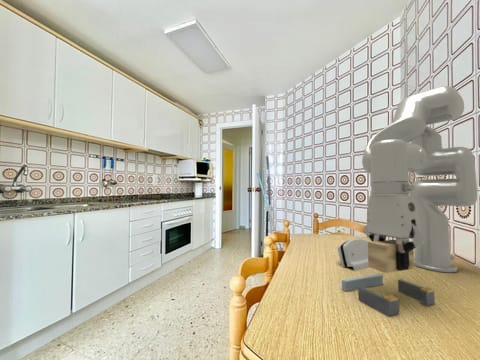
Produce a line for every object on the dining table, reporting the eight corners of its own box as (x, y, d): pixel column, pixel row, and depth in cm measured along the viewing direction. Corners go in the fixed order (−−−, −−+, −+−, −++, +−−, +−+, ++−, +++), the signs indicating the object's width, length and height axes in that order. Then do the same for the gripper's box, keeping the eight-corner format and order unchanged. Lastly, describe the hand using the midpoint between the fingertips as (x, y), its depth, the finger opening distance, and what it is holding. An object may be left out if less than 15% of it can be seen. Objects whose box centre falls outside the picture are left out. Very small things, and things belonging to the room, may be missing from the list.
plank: (378, 282, 60) (378, 273, 60) (383, 284, 58) (382, 275, 59) (341, 289, 55) (341, 279, 55) (345, 291, 54) (345, 281, 54)
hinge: (354, 271, 69) (344, 240, 72) (342, 271, 72) (333, 242, 76) (382, 264, 77) (372, 236, 80) (370, 264, 80) (360, 238, 84)
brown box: (396, 263, 53) (395, 239, 54) (414, 268, 49) (413, 242, 50) (368, 267, 50) (367, 241, 50) (385, 273, 46) (384, 245, 46)
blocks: (401, 290, 55) (400, 277, 55) (435, 304, 48) (434, 289, 48) (358, 300, 49) (358, 285, 50) (389, 317, 42) (389, 299, 43)
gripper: (440, 190, 45) (445, 277, 43) (368, 191, 60) (370, 255, 59) (418, 188, 42) (423, 281, 40) (349, 190, 58) (350, 257, 56)
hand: (391, 265), depth 50 cm, fingers closed on brown box, 4 cm apart
